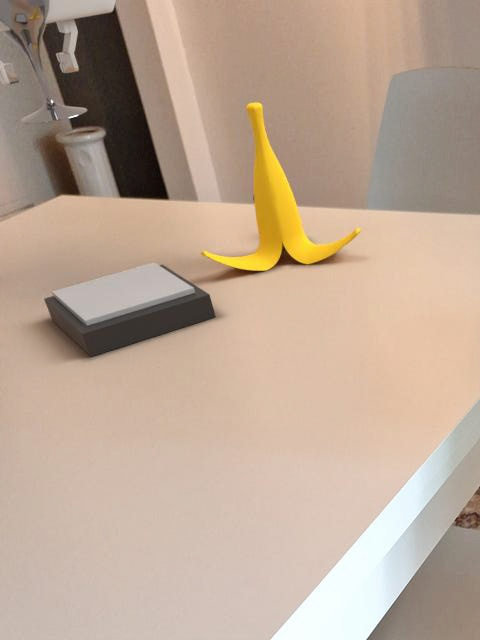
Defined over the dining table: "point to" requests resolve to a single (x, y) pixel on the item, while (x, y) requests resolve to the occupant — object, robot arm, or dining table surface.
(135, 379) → the dining table surface
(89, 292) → the scale
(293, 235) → the banana peel
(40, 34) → the wine glass
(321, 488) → the dining table surface
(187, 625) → the dining table surface
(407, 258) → the dining table surface
